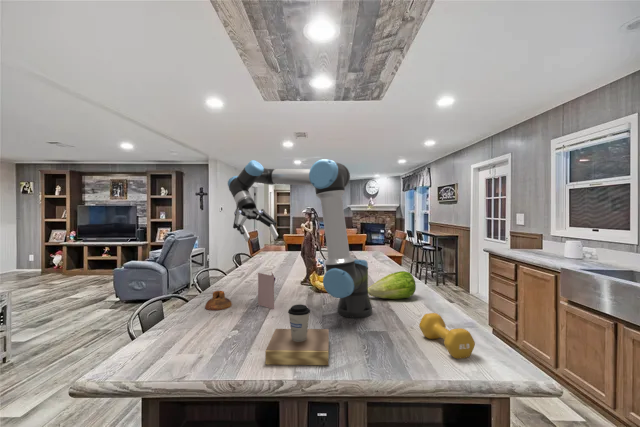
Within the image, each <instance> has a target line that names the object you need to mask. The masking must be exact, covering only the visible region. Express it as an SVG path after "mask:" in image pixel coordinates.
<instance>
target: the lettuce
mask: <svg viewBox="0 0 640 427" xmlns="http://www.w3.org/2000/svg"><path fill="white" fill-rule="evenodd" d="M416 286H417V285H416V281H415V278H414V276H413V274H412V273H410V271H405V270H402V271H401V270H400V271H396V272H393V273H392V272H391V273H389V274H387V275H386V276H383V277H382V278H380V279H378V280H377V281H376V282H373V284H371V285H370V286H368V296H371V297H376V298H380V299H388V300H389V299H390V300H399V299H409V298H410V297H411V296H413V295H414V294H415V292H416V290H417V289H416V288H417V287H416Z"/></svg>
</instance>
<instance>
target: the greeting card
mask: <svg viewBox="0 0 640 427" xmlns="http://www.w3.org/2000/svg"><path fill="white" fill-rule="evenodd" d="M275 281H276V277H275V276H274V273H273V272H271V274H265V273H263V272H262V273H261V272H258V273H257V287H258V288H257V294H258V295H257V304H258V306H262V307H266V308H268V309H272V310H275Z"/></svg>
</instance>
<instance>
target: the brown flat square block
mask: <svg viewBox="0 0 640 427" xmlns="http://www.w3.org/2000/svg"><path fill="white" fill-rule="evenodd" d="M329 332H330V330H329V328H308V330H307V339H306V340H305V341H302V342H296V341H293V340H292V336H291V328H275V329H274V331H273V334H272V336H271V338H270V341H269V342H268V345H267V347H266V348H265V354H264V355H265V356H264V358H265V365H270V366H271V365H273V366H274V365H276V366H277V365H280V366H281V365H283V366H284V365H285V366H286V365H287V366H291V365H292V366H329V356H330V355H329V354H330V353H329V346H330V345H329V344H330V341H329V339H330V337H329V336H330V333H329Z"/></svg>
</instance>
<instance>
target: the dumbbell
mask: <svg viewBox="0 0 640 427" xmlns="http://www.w3.org/2000/svg"><path fill="white" fill-rule="evenodd" d="M446 327H447V326H446V323H445V321H444V319H443V318H442V316H441V315H440V314H438V313H435V312H430V313H425V314H424V315H423V316H422V317H421V320H420V322H419V330H420V331H421V333H422V336H424V337H425V338H427V339H429V340H435V339H440V338H441V339H442V340H444V341H443V344H444V346H445V349H446V350H447V352H448V354H449V355H450V356H451V357H452V358H454V359H458V360H459V359H460V360H461V359H467V358H469V357H470V356H471V355H472V353H473V351H474V349H475V346H476V345H475V344H476V342H475V340H474V337H473V336H472V334H471V333H470V331H468V330H467V329H465V328H459V327H458V328H452V329H448V328H446Z"/></svg>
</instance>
